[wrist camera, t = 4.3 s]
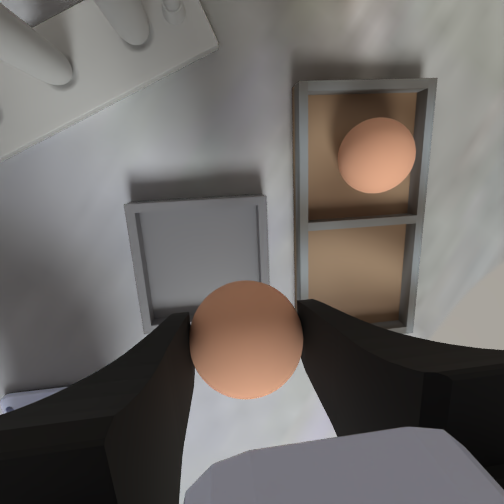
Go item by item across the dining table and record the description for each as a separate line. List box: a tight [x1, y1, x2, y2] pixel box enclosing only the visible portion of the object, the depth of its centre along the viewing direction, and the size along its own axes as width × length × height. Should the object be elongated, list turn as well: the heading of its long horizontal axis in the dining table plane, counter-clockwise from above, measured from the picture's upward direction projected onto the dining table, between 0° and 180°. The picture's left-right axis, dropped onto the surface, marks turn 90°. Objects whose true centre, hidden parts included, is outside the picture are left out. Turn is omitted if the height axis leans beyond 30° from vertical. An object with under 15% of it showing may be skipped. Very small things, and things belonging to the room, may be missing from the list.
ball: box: [338, 117, 416, 193], centre depth 17 cm, size 4×4×4 cm
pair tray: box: [292, 78, 437, 334], centre depth 20 cm, size 16×8×2 cm, turn 3°
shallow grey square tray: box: [124, 194, 270, 334], centre depth 19 cm, size 8×8×2 cm
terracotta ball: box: [189, 280, 303, 399], centre depth 11 cm, size 4×4×4 cm
